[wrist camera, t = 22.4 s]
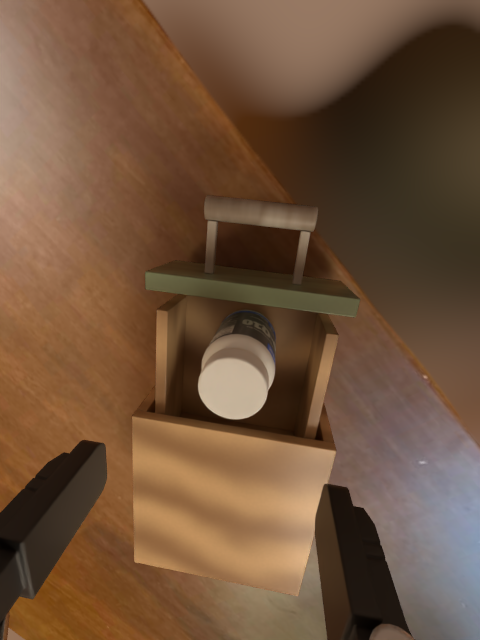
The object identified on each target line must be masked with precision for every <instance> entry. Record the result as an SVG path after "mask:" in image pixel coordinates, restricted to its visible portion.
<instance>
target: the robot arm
mask: <svg viewBox="0 0 480 640" xmlns="http://www.w3.org/2000/svg"><path fill="white" fill-rule="evenodd" d="M106 479H107V463H106V447H105V444H104V443H99V442H93V441H88V440H82V441H81V442H80V443H79V444H78V445H77V446H76V447H75V448H74V449H73V450H72V451H71V452H70V454H69V453H62V454H61V455H59V456H58V457H56V458H54V459H53V460H51V461H50V462H48V463H47V464H46V465H45V466H44V467H43V468H42V469H41V470H40V472H39V473H38V474H37V475H36V477H35V478H33V479H32V480H31V481H30V482H29V483H28V484H27V485H26V486H25V489H22V491H21V492H20V493H19V494H18V495H17V496H16V497H15V498H14V499H13V500H12V501H11V502H10V503H9V504H8V505H7V506H6V507H5V509H4V510H3V511H2V512H1V513H0V640H7V635H8V625H9V610H10V609H11V607H12V606H13V604H14V603H15V602H16V600H17V599H18V597H19V596H20V597H25V598H29V599H33V598H34V597H35V595H36V594H37V592H38V591H39V589H40V588H41V586H42V584H43V583H44V581H45V580H46V578H47V577H48V575H49V574H50V572H51V570H52V569H53V567H54V566H55V564H56V563H57V561H58V560H59V558H60V557H61V555H62V553H63V552H64V550H65V549H66V547H67V546H68V544H69V543H70V541H71V539H72V538H73V536H74V535H75V533H76V532H77V530H78V529H79V527H80V525H81V524H82V522H83V521H84V519H85V518H86V516H87V515H88V513H89V512H90V510H91V508H92V507H93V505H94V504H95V502H96V501H97V499H98V498H99V496H100V494H101V493H102V491H103V489H104V486H105V483H106ZM315 539H316V547H317V555H318V564H319V572H320V580H321V589H322V597H323V605H324V614H325V622H326V630H327V639H328V640H415V639H414V638H413V637H412V635H411V633H410V631H409V629H408V626H407V624H406V621H405V618H404V615H403V612H402V608H401V605H400V602H399V599H398V596H397V593H396V590H395V587H394V583H393V580H392V577H391V574H390V571H389V568H388V565H387V562H386V561H385V555H384V552H383V549H382V546H381V545H380V540H379V537H378V533H377V530H376V527H375V524H374V523H373V521H372V520H371V518H370V517H369V516H368V514H367V513H366V511H365V510H364V508H360V507H355V506H353V504H352V500H351V497H350V493H349V490H348V488H347V487H342V486H336V485H330V484H324V486H323V489H322V493H321V497H320V501H319V504H318V508H317V512H316V517H315Z"/></svg>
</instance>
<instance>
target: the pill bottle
mask: <svg viewBox="0 0 480 640" xmlns="http://www.w3.org/2000/svg"><path fill="white" fill-rule="evenodd" d="M275 353H276V335H275V330H274V328H273V326H272V324H271V322H270V321H269V320H268V319H267V318H266V317H265V316H264V315H262V314H261V313H259V312H256V311H253V310H239V311H236V312H233V313H232V314H230V315H229V316H227V317H226V318H225V319H224V321H223V322H222V323H221V325H220V327H219V328H218V330H217V332H216V334H215V336H214V337H213V339H212V341H211V342H210V344H209V346H208V347H207V349H206V351H205V353H204V356H203V359H202V366H201V368H202V371H201V373H200V376H199V380H198V391H199V395H200V397H201V399H202V401H203V403H204V404H205V405H206V406H207V407H208V408H209V409H210V410H211V411H212V412H213V413H215V414H217V415H219V416H221V417H224V418H228V419H243V418H247V417H250V416H252V415H254V414H255V413H257V412H258V411H259V410H260V409H261V408H262V407H263V405H264V403H265V401H266V399H267V395H268V390H269V388H270V387H271V385H272V383H273V380H274V376H275Z"/></svg>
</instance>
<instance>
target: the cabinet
mask: <svg viewBox="0 0 480 640" xmlns="http://www.w3.org/2000/svg"><path fill="white" fill-rule="evenodd" d="M155 388H156V385H155V386H154V388H153V389H152V390H151V392H150V393H149V394H148V396H147V397H146V398H145V400H144V401H143V402H142V404H141V405H140V406H139V408H138V409H137V410H136V411H135V413H134V414H133V415H132V449H133V510H134V562H137V563H142V564H147V565H152V566H156V567H161V568H166V569H171V570H175V571H180V572H185V573H190V574H194V575H199V576H204V577H209V578H213V579H218V580H223V581H228V582H232V583H237V584H242V585H247V586H252V587H256V588H261V589H266V590H271V591H275V592H280V593H285V594H290V595H294V596H298V595H299V591H300V587H301V584H302V580H303V576H304V572H305V569H306V565H307V561H308V557H309V553H310V550H311V546H312V542H313V538H314V534H315V517H316V512H317V508H318V504H319V501H320V497H321V493H322V489H323V486H324V484H328V481H329V478H330V474H331V470H332V466H333V462H334V459H335V455H336V447H335V444H334V440H333V436H332V432H331V428H330V424H329V420H328V416H327V412H326V409H325V405H324V402H323V406H322V411H321V415H320V419H319V424H318V428H317V432H316V437H315V440H313V439H307V438H301V437H295V436H289V435H283V434H277V433H271V432H265V431H259V430H253V429H247V428H241V427H235V426H229V425H223V424H218V423H212V422H206V421H200V420H194V419H188V418H182V417H176V416H170V415H164V414H158V413H155Z"/></svg>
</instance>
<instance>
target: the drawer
mask: <svg viewBox="0 0 480 640" xmlns="http://www.w3.org/2000/svg"><path fill="white" fill-rule="evenodd" d="M204 216H205V219H206V220H208V226H207V241H206V256H205V264H201V263H193V262H185V261H177V260H175V261H172V262H169V263H167V264H164V265H161V266H159V267H156V268H153V269H151V270H148V271H146V272H145V289H146V290H154V291H161V292H169V293H176V294H177V295H176V296H175V297H173V298H172V299H171V300H169V301H168V302H166V303H165V304H164V305H162V306H161V307H160V308H158V309H157V317H156V388H155V413H158V414H164V415H170V416H176V417H182V418H188V419H194V420H200V421H206V422H212V423H218V424H223V425H229V426H235V427H241V428H247V429H253V430H259V431H265V432H271V433H277V434H283V435H289V436H295V437H301V438H307V439H313V440H315V437H316V432H317V428H318V424H319V419H320V415H321V411H322V406H323V402H324V398H325V393H326V389H327V385H328V380H329V376H330V372H331V367H332V363H333V359H334V354H335V350H336V346H337V341H338V337H339V334H338V333H337V331H336V329H335V327H334V325H333V323H332V321H331V320H330V318H329V316H328V314H333V315H340V316H348V317H356V315H357V311H358V306H359V302H360V299H359V298H358V297H357V296H356V295H355V294H354V293H353V292H352V291H351V290H350V289H349V288H348V287H347V286H345V285H344V284H343V283H342V282H341V281H337V280H329V279H321V278H313V277H305V276H303V272H304V266H305V261H306V255H307V249H308V244H309V238H310V232H313V231H314V229H315V226H316V222H317V216H318V208H317V207H315V206H305V205H296V204H287V203H277V202H268V201H258V200H249V199H240V198H230V197H221V196H211V195H207V196H206V198H205V203H204ZM218 221H221V222H230V223H239V224H248V225H257V226H266V227H274V228H283V229H292V230H301V231H300V236H299V242H298V249H297V255H296V261H295V267H294V273H293V275H289V274H281V273H273V272H265V271H257V270H249V269H241V268H233V267H225V266H217V265H215V258H216V245H217V232H218ZM309 231H310V232H309ZM239 310H253V311H256V312H259V313H261V314H262V315H264V316H265V317H266V318H267V319H268V320H269V321H270V322H271V324H272V326H273V328H274V330H275V335H276V353H275V376H274V380H273V383H272V385H271V387H270V388H269V390H268V395H267V399H266V401H265V403H264V405H263V407H262V408H261V409H260V410H259V411H258V412H257V413H255V414H254V415H252V416H250V417H247V418H243V419H228V418H224V417H221V416H219V415H217V414H215V413H213V412H212V411H211V410H210V409H209V408H208V407H207V406H206V405H205V404H204V403H203V401H202V399H201V397H200V395H199V391H198V380H199V376H200V373H201V371H202V368H201V366H202V359H203V356H204V353H205V351H206V349H207V347H208V346H209V344H210V342H211V341H212V339H213V337H214V336H215V334H216V332H217V330H218V328H219V327H220V325H221V323H222V322H223V321H224V319H225V318H226V317H227V316H229V315H230V314H232V313H233V312H236V311H239Z"/></svg>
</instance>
